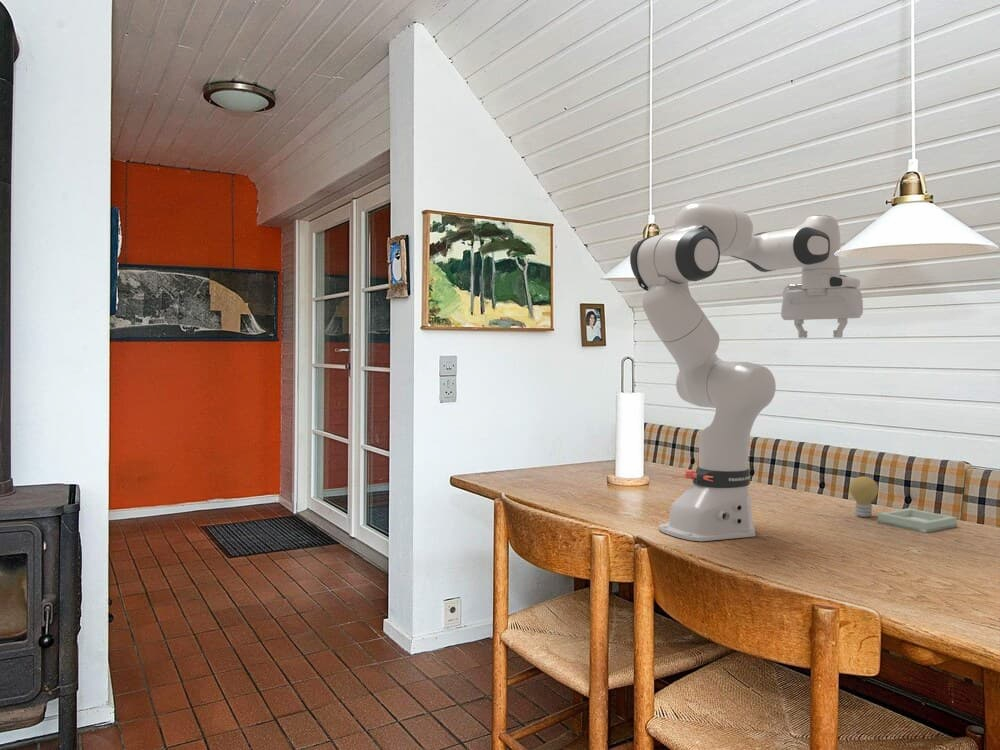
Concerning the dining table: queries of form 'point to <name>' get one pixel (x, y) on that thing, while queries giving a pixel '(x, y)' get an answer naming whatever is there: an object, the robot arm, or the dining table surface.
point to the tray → (917, 520)
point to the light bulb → (863, 495)
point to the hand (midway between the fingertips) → (820, 337)
